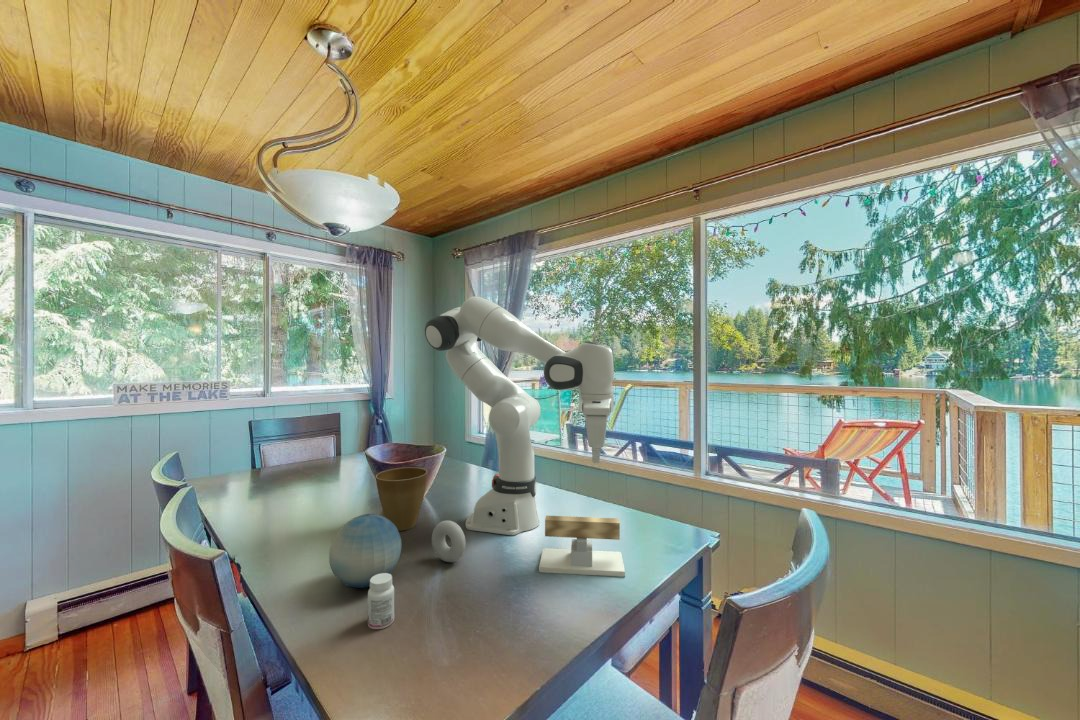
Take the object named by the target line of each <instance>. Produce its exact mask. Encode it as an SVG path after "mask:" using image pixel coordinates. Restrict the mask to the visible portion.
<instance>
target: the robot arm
mask: <svg viewBox="0 0 1080 720" xmlns="http://www.w3.org/2000/svg"><path fill="white" fill-rule="evenodd" d="M424 336H425V338H426V341H427V343H428V344H429V345H430V347H432V348H433V349H434V350H436V351H440V352H441V351H446V354H445V359H446V361H447V363H448V365H449V367H450V368H451V370H452V371H453V372H454V374H455V375H456V377H457V378H458V379H459V381H461V382H462V383H463V384H464V386H466V388H467V389H468V390H469V391H470V392H471V393H472V394H473V395H474V396H475V398H477V400H479V401H481V402H483V403H485V404H486V405H488V406H489V407H490V408H491V409H490V412H489V415H488V422H489V425H490V427H491V429H492V430H493V431H494V436H495V439H496V441H495V442H496V444H497V445H496V446H497V452H498V453H497V454H498V473H496V474H495V475H494V476H492V480H491V489H490V490H489V491H487V492H486V493H485V494H483V495H482V496H480V498H479V499H477V500H476V503H475V505H474V508H473V512H472V513H471V514H469V516H468V517H467V518H466V520H465V528H466V530H469V531H476V532H484V533H492V534H499V535H500V534H501V535H507V536H515V535H518V534H520V533H522V532H526V531H531V530H533V529H536V528H537V527H538V526H540V523H541V522H540V518H539V514H538V510H537V502H536V494H537V478H536V475H535V454H536V453H535V449H534V448H533V445H532V440H531V432H530V430H531V429H530V428H531V427H533V426H534V425H536V423H537V422H538V420H539V418H540V417H541V412H542V410H541V409H542V408H541V405H540V403H539V401H538V400H537V399H536V398H535V397H533V396H531V395H530V394H528V393H527V392H526V390H524V389H523V388H521V387H520V386H519V385H517V384H516V383H515V382H514V381H512V380H511V379H510V378H508V377H507V376H506V375H505V374H504V373H503V372H502V371H501V370H500V369H499V368H498V367H497V366H496V365H495V364H494V363H493V361H491V359H490V358H489V357H487V355H486V354H484V353H483V352H482V351H481V350H480V348H479V345H478V342H481V341H483V342H485V343H486V344H487V345H489V346H491V347H493V348H496V349H498V350H500V351H505V352H512V353H518V354H524V355H528V356H530V357H532V358H534V359H536V360H538V361H539V362H540V363H543V364H544V369H543V377H544V381H545V382H546V384H547V385H548V386H549V387H550V388H551V389H554V390H557V391H561V392H562V391H573V390H578V392H579V393H578V411H579V412H581V413H582V415H583V418H584V419H585V426H586V427H585V429H586V437H587V438H586V439H587V444H588V447H589V448H591V457H592V460H591V461H592V463H593V464H599V463H601V448H602V449H603V448H604V445H605V441H606V433H607V426H608V425H607V424H608V419H609V418H610V417H609V416H610V415H611V413H613V412H614V400H615V399H614V396H615V395H614V394H615V393H614V388H613V381H614V378H615V377H614V374H615V372H614V370H615V367H614V357H613V355H614V354H613V351H612V349H611V347H610V346H609V345H607V344H605V343H600V342H596V341H595V342H594V341H591V340H590V341H583V342H582V343H581V344H579V345H578V346H577V347H574V348H573V349H571V350H569V351H566V350H564V349H563V348H561V347H559V346H557V345H555V344H553V342H550V341H549V340H547V339H545V338H544V337H543V336H540V335H539V334H538V333H536V332H535V331H534V330H532V329H531V328H530V327H528V326H527V325H526V324H524V322H522V321H521V320H520V319H518V317H517V316H515V315H514V314H512V313H511V312H510V311H508V310H506V309H505V308H504V307H502V306H501V305H499V304H497V303H495V302H493V301H491V300H488V299H487V298H483V297H482V296H478V295H477V296H475V295H474V296H470V297H467V299H466V300H464V302H463V303H462V304H461V306H458V307H454V308H451V309H449V310H448V311H445V312H444V313H441V314H440V315H436V316H433V317H432V318H431V319H429V320H428V321H427V322H426V324H425V327H424Z"/></svg>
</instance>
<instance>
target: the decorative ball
mask: <svg viewBox="0 0 1080 720" xmlns="http://www.w3.org/2000/svg"><path fill="white" fill-rule="evenodd" d="M401 552H402V539H401V535H400V531H398V529H397V528H396V526H395V525H394V524H393V523H392V522H391V521H390V520H388V519H387V518H385V516H384V515H381V514H374V513H373V514H372V513H367V514H366V513H365V514H362V515H358V516H355V517H353V518H352V519H350V520H349V521H347V522H346V523H345V524H344V525H342V526H341V527H340V528H339V530H338V531H337V532H336V533H335V535H334V537H333V538H332V540H331V543H330V547H329V552H328V553H329V554H328V555H329V556H328V559H329V560H328V562H329V563H328V564H329V567H330V569H331V572H332V574H333V575H334V576H335V577H336V579H337V580H338V581H340V583H342V584H343V585H346V586H348V587H350V588H357V589H359V588H360V589H362V588H368V587H369V588H370V579H371V578H372V577H373V576H375V575H377V574H381V573H389V574H391V573H392V572H393V570H394V569H395V567H396V565H397V563H398V561H399V559H400V557H401Z"/></svg>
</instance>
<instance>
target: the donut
mask: <svg viewBox="0 0 1080 720" xmlns="http://www.w3.org/2000/svg"><path fill="white" fill-rule="evenodd" d="M446 536H448V537H449V539H450V540H451V541H450V542H451V547H450V546H449V545H448V544H447V541H446ZM466 543H467V542H466V536H465V533H464V531H463V529H462V527H461V526H460V525H459V524H458V523H457V522H455V521H453V520H442V521H440V522H439V523H437V524H436V526H435V527H434V529H433V531H432V534H431V545H432V549H433V551H434V553H435V554H436V556H437V557H438V558H439V559H440V560H441V561H443V562H445V563H454V562H457V561H458V560H459V559H461V557H462V556H463V555H464V553H465V550H466Z"/></svg>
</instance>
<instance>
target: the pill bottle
mask: <svg viewBox="0 0 1080 720" xmlns="http://www.w3.org/2000/svg"><path fill="white" fill-rule="evenodd" d="M394 621H395V587H394V585H393V575H392V574H391V573H390V574H389V573H381V574H377V575H375V576H373V577H372V578H371V579H370V586H369V589H368V591H367V625H368V627H369V629H373V630H382V629H385V628H388V627H389V626H390V625H392V624H393V622H394Z"/></svg>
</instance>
